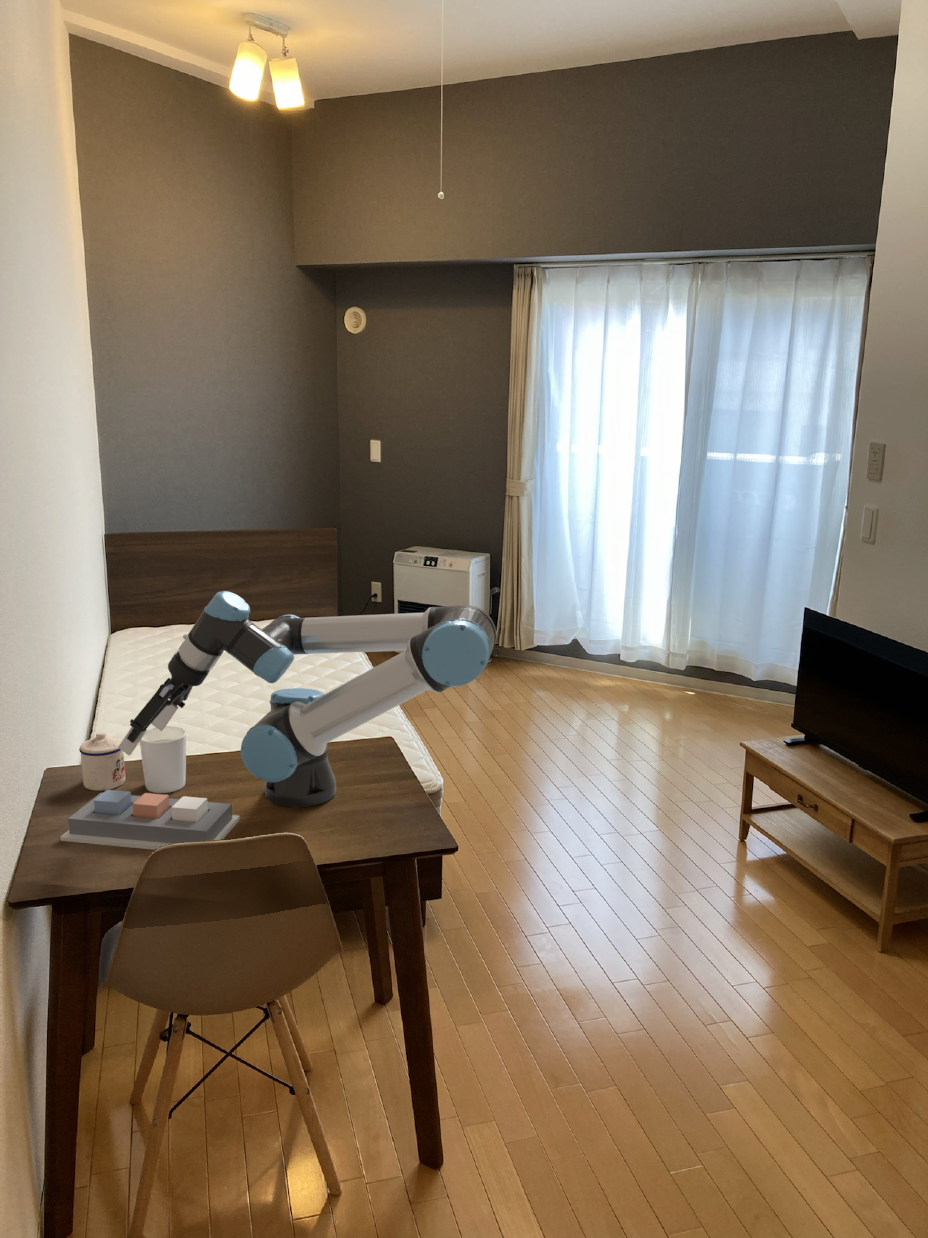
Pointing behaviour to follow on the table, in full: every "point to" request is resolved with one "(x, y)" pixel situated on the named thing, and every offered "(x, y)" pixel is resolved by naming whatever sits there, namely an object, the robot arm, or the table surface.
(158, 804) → the terracotta key
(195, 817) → the white key
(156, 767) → the candle holder
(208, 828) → the key console
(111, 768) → the teacup with lid
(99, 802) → the blue key
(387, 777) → the table surface
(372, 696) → the robot arm
